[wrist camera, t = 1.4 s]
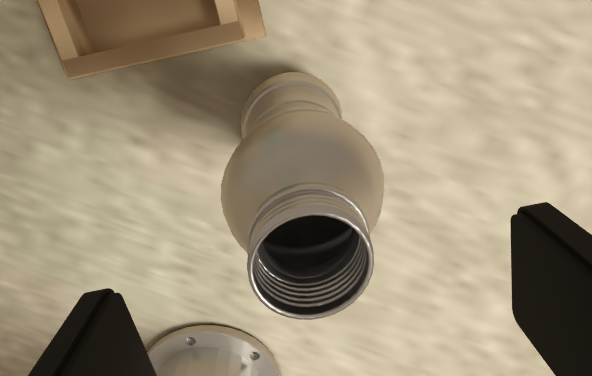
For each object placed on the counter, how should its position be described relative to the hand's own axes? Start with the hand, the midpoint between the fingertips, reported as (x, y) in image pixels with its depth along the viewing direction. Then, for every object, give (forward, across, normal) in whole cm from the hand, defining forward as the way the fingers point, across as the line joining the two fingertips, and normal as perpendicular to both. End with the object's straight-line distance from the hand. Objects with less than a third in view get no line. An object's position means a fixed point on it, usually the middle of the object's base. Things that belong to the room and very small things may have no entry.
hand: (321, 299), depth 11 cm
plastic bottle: (+22, 0, +1) cm, 22 cm away
